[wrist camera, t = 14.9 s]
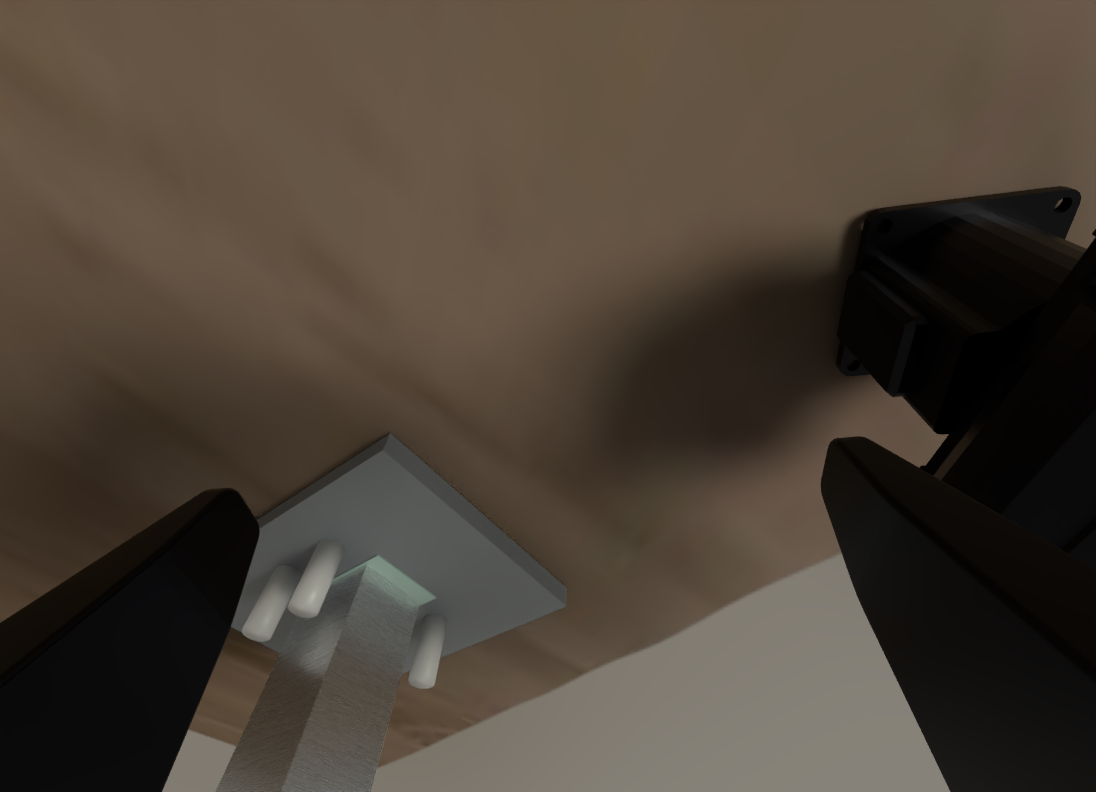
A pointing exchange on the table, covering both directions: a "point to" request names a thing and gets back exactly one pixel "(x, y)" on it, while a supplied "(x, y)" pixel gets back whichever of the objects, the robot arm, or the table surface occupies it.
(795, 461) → the table surface
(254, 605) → the dock
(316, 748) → the block
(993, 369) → the robot arm
